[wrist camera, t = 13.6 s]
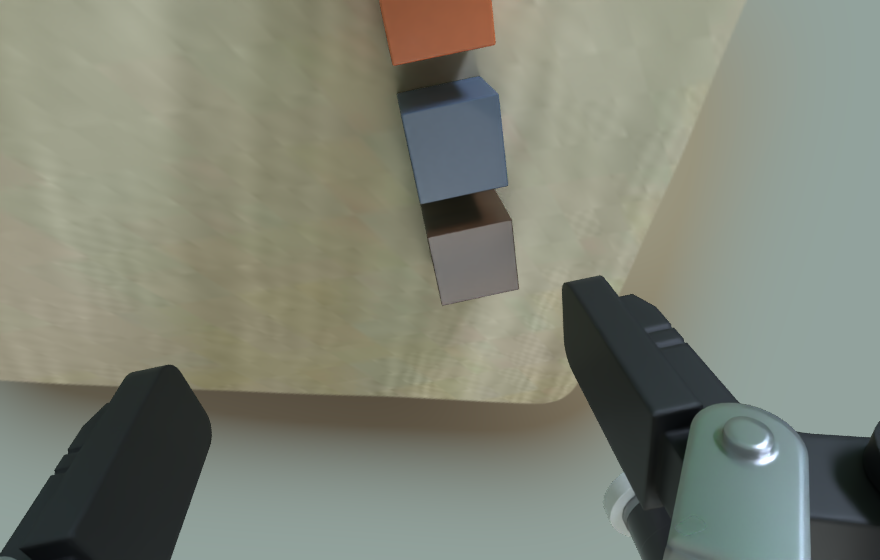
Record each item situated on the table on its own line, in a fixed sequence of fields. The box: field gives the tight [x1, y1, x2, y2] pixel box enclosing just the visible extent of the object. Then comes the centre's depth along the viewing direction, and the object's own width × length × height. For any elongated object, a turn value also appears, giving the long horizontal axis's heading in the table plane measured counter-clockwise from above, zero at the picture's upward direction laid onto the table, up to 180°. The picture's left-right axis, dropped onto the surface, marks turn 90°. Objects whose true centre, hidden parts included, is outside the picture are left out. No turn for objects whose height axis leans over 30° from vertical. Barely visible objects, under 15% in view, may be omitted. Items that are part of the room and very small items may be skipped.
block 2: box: [397, 76, 508, 204], centre depth 25 cm, size 5×5×5 cm
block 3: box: [420, 189, 519, 306], centre depth 29 cm, size 5×5×5 cm
